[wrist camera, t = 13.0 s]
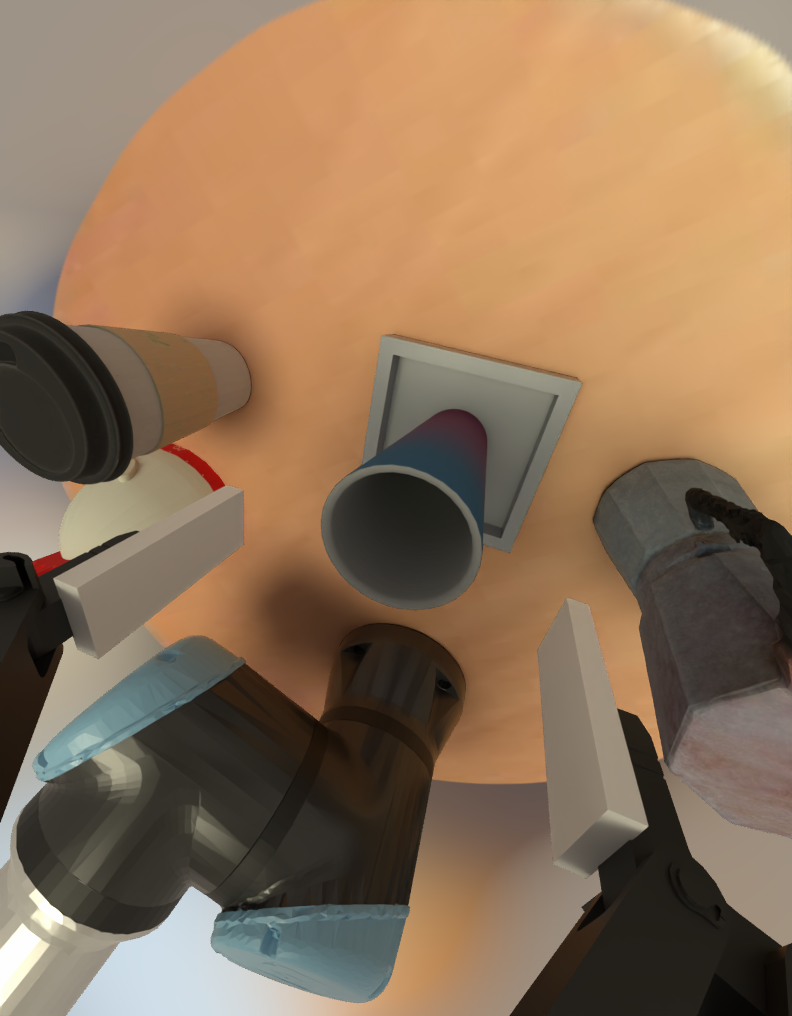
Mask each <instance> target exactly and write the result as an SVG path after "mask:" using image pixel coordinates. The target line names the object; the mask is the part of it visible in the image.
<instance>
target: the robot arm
mask: <svg viewBox="0 0 792 1016" xmlns="http://www.w3.org/2000/svg"><path fill="white" fill-rule="evenodd" d="M242 545H244V499H243V490H242V489H239V488H236V487H233V486H230V485H226V486H224V487H222V488H220V489H218V490H217V491H215V492H213V493H211V494H209V495H207V496H205V497H204V498H202V499H200V500H198V501H196V502H194V503H192V504H191V505H189V506H187V507H185V508H183V509H181V510H179V511H178V512H176V513H174V514H172V515H170V516H168V517H166V518H165V519H163V520H161V521H159V522H157V523H155V524H153V525H152V526H150V527H148V528H146V529H144V530H142V531H140V532H139V531H137V530H136V531H132V532H129V533H125V534H122V535H118V536H116V537H114V538H112V539H110V540H108V541H106V542H104V543H102V545H101V546H97V547H95V548H93V549H91V550H89V552H88V553H87V552H85V553H83V554H81V555H79V556H77V557H75V558H74V559H72V560H70V561H68V562H66V563H64V564H62V565H60V566H58V567H56V568H54V569H52V570H50V571H48V572H46V573H45V574H43V575H41V576H39V577H38V576H37V573H36V570H35V568H34V565H33V562H32V560H31V558H30V557H29V556H28V555H25V554H22V553H15V552H6V553H0V822H1V819H2V817H3V814H4V811H5V809H6V806H7V803H8V801H9V798H10V795H11V792H12V790H13V787H14V784H15V782H16V779H17V776H18V773H19V771H20V768H21V765H22V763H23V760H24V757H25V754H26V752H27V749H28V746H29V744H30V741H31V738H32V735H33V733H34V730H35V727H36V724H37V722H38V719H39V717H40V713H41V711H42V708H43V706H44V703H45V700H46V697H47V695H48V692H49V689H50V687H51V684H52V681H53V679H54V676H55V673H56V670H57V667H58V665H59V662H60V660H61V657H62V654H63V644H62V643H63V642H65V641H66V640H67V639H69V638H70V637H72V636H73V638H74V641H75V644H76V647H77V650H79V651H81V652H84V653H86V654H88V655H90V656H93V657H95V658H97V659H100V658H101V657H102V656H103V655H105V654H106V653H107V652H108V651H110V650H111V649H112V648H113V647H115V646H116V645H117V644H118V643H120V642H121V641H122V640H124V639H125V638H126V637H127V636H129V635H130V634H131V633H132V632H133V631H135V630H136V629H137V628H139V627H140V626H141V625H143V624H144V623H145V622H146V621H148V620H149V619H150V618H151V617H153V616H154V615H155V614H156V613H158V612H159V611H160V610H161V609H163V608H164V607H165V606H167V605H168V604H169V603H170V602H172V601H173V600H174V599H175V598H177V597H178V596H179V595H180V594H182V593H183V592H184V591H186V590H187V589H188V588H189V587H191V586H192V585H193V584H194V583H196V582H197V581H198V580H199V579H201V578H202V577H203V576H204V575H206V574H207V573H208V572H210V571H211V570H212V569H213V568H215V567H216V566H217V565H218V564H220V563H221V562H222V561H223V560H225V559H226V558H227V557H228V556H230V555H231V554H232V553H234V552H235V551H236V550H237V549H239V548H240V547H241V546H242ZM245 662H246V661H245V659H244V658H242V657H236V656H235V655H233V654H232V653H231V652H229V651H228V650H226V649H225V648H223V647H222V646H221V645H219V644H218V643H216V642H215V641H213V640H212V639H210V638H208V637H206V636H199V635H197V636H190V637H186V638H183V639H181V640H179V641H177V642H175V643H174V644H172V645H170V646H169V647H167V648H165V649H164V650H163V651H161V652H159V653H158V654H157V655H155V656H154V657H152V658H151V659H150V660H148V661H147V662H146V663H144V664H143V665H142V666H140V667H139V668H138V669H136V670H135V671H133V672H132V673H131V674H130V675H128V676H127V677H125V679H123V680H122V681H121V682H119V683H118V684H117V685H116V686H114V687H113V688H112V689H110V690H109V691H108V692H107V693H105V694H104V695H103V696H102V697H100V698H99V699H98V700H97V701H96V702H94V703H93V704H92V705H91V706H89V707H88V708H87V709H86V710H85V711H83V712H82V713H81V714H80V715H79V716H78V717H76V718H75V719H74V720H73V721H72V722H71V723H69V724H68V725H67V726H66V727H65V728H64V729H63V730H62V731H60V732H59V733H58V734H57V735H56V736H55V737H54V738H53V739H52V740H51V741H50V742H49V744H48V745H47V746H46V747H45V749H43V750H42V752H40V753H39V754H38V755H37V756H36V758H35V759H34V761H33V765H32V767H33V769H34V771H35V772H36V774H37V776H36V778H37V779H39V780H41V781H44V782H47V784H46V785H45V786H44V787H43V788H42V789H41V790H40V791H39V792H38V793H37V794H36V795H35V796H34V797H33V798H32V800H31V801H30V802H29V803H28V804H27V805H26V806H25V807H24V808H23V809H22V811H21V812H20V814H19V816H18V817H17V819H16V821H15V823H14V826H13V829H12V833H11V845H10V847H11V848H10V849H11V858H10V860H9V861H7V863H6V864H5V865H4V866H3V867H2V868H1V869H0V1016H66V1015H67V1013H68V1012H69V1011H70V1009H71V1008H72V1007H73V1005H74V1004H75V1003H76V1001H77V1000H78V998H79V997H80V996H81V994H82V993H83V992H84V990H85V989H86V987H87V986H88V985H89V983H90V982H91V981H92V979H93V978H94V977H95V975H96V974H97V973H98V971H99V970H100V969H101V967H102V966H103V964H104V963H105V962H106V960H107V959H108V958H109V956H110V955H111V953H112V952H113V951H114V949H115V948H116V947H117V945H118V944H119V943H120V942H123V941H127V940H131V939H136V938H140V937H142V936H145V935H147V934H149V933H150V932H152V931H154V930H155V929H157V928H158V927H159V926H160V925H161V924H162V923H163V922H164V921H165V919H166V918H167V917H168V916H169V915H170V913H171V911H172V910H173V909H174V908H175V906H176V905H177V903H178V902H179V900H180V899H181V898H182V896H183V895H184V893H185V892H186V891H187V890H188V888H189V887H191V886H193V887H194V888H196V889H197V890H199V891H200V892H202V893H203V894H205V895H207V896H208V897H209V898H211V899H212V900H213V901H215V902H216V903H218V904H219V905H220V906H221V908H222V912H221V913H219V914H218V915H217V917H216V919H215V921H214V931H213V933H212V936H211V946H212V948H213V949H214V950H215V952H216V953H221V954H222V955H223V956H224V957H226V958H227V959H228V960H229V961H231V962H233V963H235V964H237V965H239V966H241V967H243V968H245V969H248V970H250V971H252V972H255V973H257V974H259V975H262V976H264V977H267V978H269V979H272V980H275V981H278V982H280V983H283V984H286V985H288V986H292V987H295V988H298V989H301V990H303V991H307V992H310V993H314V994H317V995H320V996H324V997H328V998H332V999H336V1000H341V1001H346V1002H353V1003H364V1002H368V1001H371V1000H373V999H375V998H376V997H378V996H379V995H380V994H381V993H382V992H383V991H384V989H385V988H386V986H387V984H388V982H389V980H390V978H391V975H392V972H393V968H394V964H395V960H396V956H397V952H398V949H399V945H400V941H401V937H402V933H403V929H404V925H405V920H406V918H407V917H408V915H409V911H410V907H409V906H408V904H409V899H410V893H411V888H412V882H413V877H414V872H415V867H416V861H417V856H418V851H419V845H420V840H421V834H422V829H423V824H424V818H425V813H426V808H427V803H428V797H429V792H430V787H431V781H432V776H433V770H434V766H435V762H436V760H437V758H438V756H439V755H440V753H441V751H442V749H443V748H444V746H445V744H446V742H447V740H448V739H449V737H450V735H451V733H452V731H453V730H454V728H455V726H456V724H457V723H458V721H459V719H460V716H461V714H462V710H463V704H464V698H465V689H466V687H465V680H464V676H463V674H462V671H461V669H460V668H459V666H458V664H457V663H456V661H455V660H454V659H453V657H452V656H451V655H450V654H449V653H448V652H447V651H446V650H445V649H444V648H443V647H441V646H440V645H439V644H438V643H436V642H435V641H433V640H432V639H430V638H428V637H427V636H425V635H423V634H421V633H419V632H416V631H414V630H411V629H408V628H405V627H401V626H397V625H390V624H372V625H367V626H363V627H360V628H357V629H355V630H354V631H352V632H351V633H349V634H348V635H347V636H346V637H345V638H344V640H343V641H342V643H341V645H340V647H339V648H338V650H337V652H336V654H335V656H334V658H333V661H332V665H331V670H330V676H329V682H328V688H327V694H326V700H325V706H324V711H323V714H322V716H321V718H320V720H319V721H318V720H316V719H315V718H314V717H313V716H312V715H310V714H309V713H308V712H306V711H305V710H304V709H302V708H301V707H300V706H299V705H297V704H296V703H295V702H293V701H292V700H291V699H290V698H288V697H287V696H286V695H284V694H283V693H282V692H281V691H279V690H278V689H277V688H276V687H274V686H273V685H272V684H271V683H269V682H268V681H267V680H265V679H264V678H263V677H262V676H260V675H259V674H258V673H257V672H255V671H254V670H253V669H252V668H250V667H249V666H248V665H247V664H245ZM538 662H539V676H540V690H541V704H542V718H543V732H544V747H545V761H546V775H547V789H548V803H549V817H550V831H551V844H552V859H553V864H555V865H557V866H559V867H561V868H563V869H565V870H568V871H570V872H572V873H574V874H577V875H579V876H581V877H584V878H586V879H587V878H588V877H589V876H590V875H592V874H593V873H594V872H595V871H596V870H598V871H599V877H600V883H601V890H602V892H600V893H599V894H598V895H596V896H595V897H594V898H593V899H591V900H590V901H589V902H587V903H586V904H585V905H584V906H582V908H583V910H584V911H585V912H584V913H583V915H582V916H581V918H580V919H579V920H578V922H577V923H576V924H575V926H574V927H573V929H572V930H571V931H570V933H569V934H568V936H567V937H566V938H565V940H564V941H563V943H562V944H561V945H560V947H559V948H558V949H557V951H556V952H555V953H554V955H553V956H552V958H551V959H550V960H549V962H548V963H547V965H546V966H545V967H544V969H543V970H542V971H541V973H540V974H539V976H538V977H537V979H536V980H535V981H534V983H533V984H532V985H531V987H530V988H529V989H528V991H527V992H526V994H525V995H524V996H523V998H522V999H521V1001H520V1002H519V1003H518V1005H517V1006H516V1007H515V1009H514V1010H513V1012H512V1013H511V1014H510V1016H792V943H791V944H788V945H786V946H783V947H782V946H781V945H779V944H778V943H777V942H776V941H774V940H773V939H772V938H770V937H769V936H768V935H766V934H765V933H764V932H762V931H761V930H760V929H758V928H757V927H756V926H755V925H753V924H752V923H751V922H749V921H748V920H747V919H746V918H744V917H743V916H741V915H740V914H739V913H738V912H736V911H735V910H734V909H733V908H732V907H731V906H729V905H728V904H727V903H726V901H725V899H724V897H723V895H722V894H721V892H720V890H719V888H718V886H717V884H716V883H715V881H714V880H713V879H712V878H711V877H710V875H709V874H708V873H707V871H706V870H705V869H704V868H703V866H701V865H700V864H699V863H698V862H697V861H696V860H695V859H694V858H692V856H691V853H690V851H689V849H688V846H687V843H686V840H685V837H684V834H683V831H682V828H681V825H680V822H679V819H678V816H677V813H676V810H675V807H674V804H673V801H672V798H671V795H670V792H669V789H668V786H667V783H666V780H665V779H663V776H664V774H663V771H662V768H661V765H660V762H658V760H657V759H658V756H657V753H656V750H655V747H654V744H653V741H652V738H651V736H650V734H649V733H648V731H647V730H646V728H645V727H644V725H643V724H642V722H641V721H640V719H639V718H638V716H636V715H634V714H631V713H628V712H626V711H623V710H620V709H618V708H617V707H616V703H615V700H614V696H613V692H612V689H611V685H610V681H609V677H608V674H607V670H606V666H605V663H604V659H603V655H602V651H601V648H600V644H599V640H598V637H597V633H596V629H595V625H594V622H593V618H592V614H591V611H590V607H589V605H588V604H585V603H582V602H579V601H576V600H573V599H570V598H566V600H565V602H564V603H563V605H562V607H561V609H560V611H559V612H558V614H557V616H556V618H555V620H554V621H553V623H552V625H551V627H550V628H549V630H548V632H547V634H546V636H545V637H544V639H543V641H542V643H541V645H540V646H539V648H538Z"/></svg>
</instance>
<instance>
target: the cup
mask: <svg viewBox="0 0 792 1016" xmlns="http://www.w3.org/2000/svg"><path fill="white" fill-rule="evenodd" d="M486 463H487V435H486V431H485V429H484V427H483V425H482V423H481V422H480V421H479V420H478V419H477V418H476V417H475V416H474V415H473V414H471V413H469V412H467V411H464V410H460V409H447V410H444V411H441V412H439V413H437V414H435V415H434V416H432V417H431V418H429V419H428V420H426V421H425V422H424V423H422V424H421V425H419V426H418V427H416V428H415V429H413V430H412V431H411V432H409V433H408V434H406V435H405V436H403V437H402V438H400V439H399V440H398V441H396V442H395V443H393V444H392V445H390V446H389V447H387V448H386V449H385V450H383V451H382V452H380V453H379V454H377V455H376V456H375V457H373V458H372V459H370V460H369V461H367V462H366V463H364V464H363V465H362V466H360V467H359V468H357V469H356V470H354V471H353V472H351V473H350V474H349V475H347V476H346V477H345V478H344V479H342V480H341V481H340V482H339V483H338V484H337V485H336V486H335V487H334V488H333V490H332V491H331V493H330V494H329V496H328V497H327V500H326V502H325V505H324V508H323V512H322V519H321V531H322V538H323V542H324V546H325V549H326V551H327V554H328V556H329V558H330V560H331V562H332V563H333V565H334V566H335V568H336V569H337V571H338V572H339V574H340V575H341V576H342V577H343V578H344V579H345V580H346V581H347V582H348V583H349V584H350V585H351V586H353V587H354V588H355V589H356V590H358V591H359V592H360V593H362V594H363V595H365V596H367V597H369V598H370V599H372V600H374V601H376V602H379V603H381V604H384V605H386V606H390V607H394V608H399V609H406V610H424V609H431V608H435V607H439V606H442V605H445V604H447V603H449V602H451V601H453V600H455V599H456V598H457V597H459V596H460V595H461V594H462V593H464V592H465V591H466V590H467V589H468V587H469V586H470V585H471V583H472V582H473V581H474V579H475V577H476V575H477V573H478V570H479V568H480V564H481V558H482V552H483V529H484V507H485V485H486Z"/></svg>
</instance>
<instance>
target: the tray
mask: <svg viewBox="0 0 792 1016" xmlns="http://www.w3.org/2000/svg"><path fill="white" fill-rule="evenodd" d="M581 385H582V382H581V381H580V380H579V379H578V378H576V377H572V376H567V375H563V374H559V373H555V372H551V371H546V370H542V369H538V368H534V367H529V366H525V365H521V364H517V363H512V362H508V361H504V360H500V359H496V358H491V357H487V356H483V355H479V354H474V353H470V352H466V351H462V350H458V349H453V348H449V347H445V346H441V345H436V344H432V343H428V342H424V341H419V340H415V339H411V338H407V337H403V336H398V335H394V334H389V335H382V336H381V342H380V349H379V355H378V362H377V368H376V375H375V381H374V388H373V394H372V401H371V407H370V414H369V421H368V427H367V434H366V440H365V447H364V453H363V460H362V465H363V464H364V463H366V462H367V461H369V460H370V459H372V458H373V457H375V456H376V455H377V454H379V453H380V452H382V451H383V450H385V449H386V448H387V447H389V446H390V445H392V444H393V443H395V442H396V441H398V440H399V439H400V438H402V437H403V436H405V435H406V434H408V433H409V432H411V431H412V430H413V429H415V428H416V427H418V426H419V425H421V424H422V423H424V422H425V421H426V420H428V419H429V418H431V417H432V416H434V415H435V414H437V413H439V412H441V411H444V410H447V409H460V410H464V411H467V412H469V413H471V414H473V415H474V416H475V417H476V418H477V419H478V420H479V421H480V422H481V423H482V425H483V427H484V429H485V431H486V435H487V463H486V485H485V507H484V529H483V545H486V546H489V547H492V548H495V549H498V550H501V551H504V552H507V553H510V551H511V549H512V546H513V544H514V542H515V539H516V537H517V535H518V532H519V530H520V528H521V525H522V523H523V521H524V518H525V516H526V514H527V511H528V509H529V507H530V504H531V502H532V500H533V497H534V495H535V493H536V490H537V488H538V486H539V483H540V481H541V479H542V476H543V474H544V472H545V469H546V467H547V465H548V462H549V460H550V458H551V455H552V453H553V451H554V448H555V446H556V444H557V441H558V439H559V437H560V434H561V432H562V430H563V427H564V425H565V423H566V420H567V418H568V416H569V413H570V411H571V409H572V406H573V404H574V401H575V399H576V397H577V394H578V392H579V390H580V387H581Z"/></svg>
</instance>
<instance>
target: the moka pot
mask: <svg viewBox="0 0 792 1016" xmlns="http://www.w3.org/2000/svg"><path fill="white" fill-rule="evenodd" d="M593 523H594V526H595V529H596V531H597V533H598V535H599V538H600V540H601V542H602V544H603V546H604V548H605V550H606V552H607V554H608V555H609V557H610V559H611V560H612V562H613V563H614V564H615V566H616V568H617V570H618V571H619V573H620V574H621V575H622V577H623V578H624V580H625V582H626V584H627V585H628V587H629V589H630V590H631V591H632V593H633V594H634V596H635V598H636V599H637V601H638V603H639V607H640V609H641V612H642V616H641V620H640V625H639V631H640V637H641V642H642V647H643V651H644V656H645V661H646V667H647V672H648V677H649V682H650V687H651V692H652V697H653V703H654V708H655V713H656V719H657V725H658V729H659V734H660V739H661V745H662V750H663V756H664V761H665V763H666V765H667V766H668V768H669V770H670V771H671V772H672V773H673V774H674V775H675V776H677V777H678V778H679V779H680V780H681V781H682V782H683V783H685V784H686V785H687V786H688V787H689V788H690V789H692V790H693V791H694V792H695V793H696V794H697V795H699V796H700V797H701V798H702V799H703V800H704V801H705V802H706V803H708V804H709V805H710V806H711V807H712V808H713V809H714V810H715V811H716V812H717V813H718V814H719V815H720V816H721V817H723V818H724V819H726V820H727V821H729V822H731V823H732V824H736V825H740V826H744V827H748V828H751V829H755V830H760V831H763V832H767V833H772V834H777V835H782V836H785V837H788V838H791V839H792V535H791V534H789V532H788V531H787V530H786V529H785V528H784V527H783V526H782V525H780V524H779V523H777V522H776V521H774V520H770V519H768V518H767V517H765V516H764V515H763V514H762V513H761V512H758V510H757V509H756V507H755V506H754V504H753V503H752V501H751V500H750V498H749V497H748V496H747V494H746V493H745V492H744V490H743V489H742V487H741V486H740V484H739V483H738V482H737V480H736V479H735V478H733V477H732V476H730V475H728V474H727V473H725V472H723V471H721V470H720V469H718V468H716V467H713V466H711V465H709V464H706V463H704V462H701V461H699V460H693V459H677V460H663V461H656V462H646V463H644V464H641V465H640V466H638V467H636V468H634V469H632V470H631V471H630V472H628V473H626V474H624V475H623V476H622V477H621V478H619V479H618V480H616V481H615V482H614V483H613V484H612V485H611V486H610V487H609V488H608V489H607V490H606V491H605V493H604V494H603V496H602V498H601V500H600V503H599V505H598V508H597V510H596V513H595V517H594V519H593Z"/></svg>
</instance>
